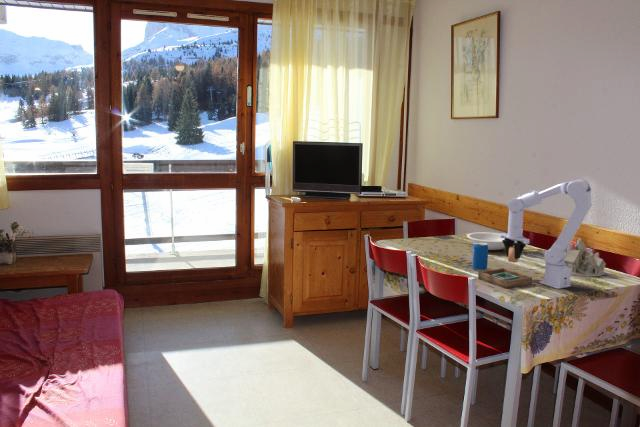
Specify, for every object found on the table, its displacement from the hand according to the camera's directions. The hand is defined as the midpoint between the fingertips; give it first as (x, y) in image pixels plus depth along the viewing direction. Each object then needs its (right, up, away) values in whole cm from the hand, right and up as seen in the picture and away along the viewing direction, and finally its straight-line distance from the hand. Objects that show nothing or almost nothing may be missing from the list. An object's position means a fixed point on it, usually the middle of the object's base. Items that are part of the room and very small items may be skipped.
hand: (513, 257), depth 237 cm
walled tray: (-6, -10, -6) cm, 12 cm away
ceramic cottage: (+33, -8, +9) cm, 35 cm away
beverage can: (-11, -7, +13) cm, 18 cm away
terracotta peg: (0, -2, 0) cm, 2 cm away
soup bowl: (+6, 0, +54) cm, 54 cm away
